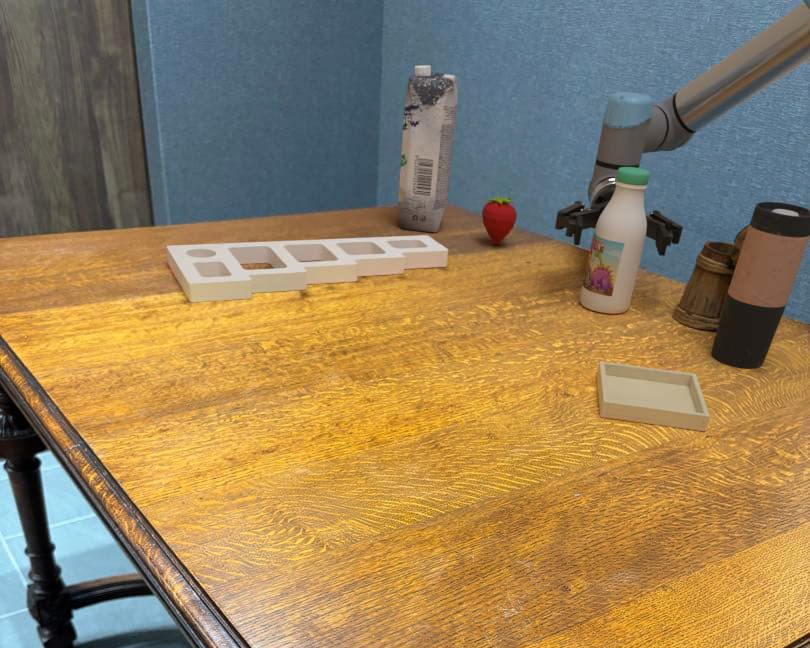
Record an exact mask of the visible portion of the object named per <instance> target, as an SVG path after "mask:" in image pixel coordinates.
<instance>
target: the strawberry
mask: <svg viewBox="0 0 810 648" xmlns="http://www.w3.org/2000/svg"><path fill="white" fill-rule="evenodd" d="M497 189H498V191H499V193H500V194H502V192H501V190H500V187H498V188H497ZM484 200H485V201H488V202H486V203H485V204H484V205H483V208H482V210H481V218H482V223H483V225H484V229H485V230H486V233H487V235H488V236H489V239H490V240H491V243H492V245H495V246H499V245H500V244H501V243H502V241H504V239H506V237H508V236H509V234H510V232H511V231H512V230H513V228H514V226H515V224H516V221H517V217H518V215H517V210H516V208H515V207H514V205H512V204H511V203H514V200H512V197H511V198H510V197H506V198H504V197H502V195H500V196H498V195H496V196H495V197H492V198H485V199H484Z"/></svg>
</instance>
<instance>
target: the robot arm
mask: <svg viewBox="0 0 810 648" xmlns="http://www.w3.org/2000/svg"><path fill="white" fill-rule="evenodd" d="M802 1H803V2H801V3H800V4H799V5H798V6H797V7H795V8H794V9H792V10H791V11H789V12H788V13H786V14H785V15H784V16H782V17H781V18H779V19H778V20H777V21H775V22H774V23H773V24H771V25H769V26H768V27H767V28H765V29H763V30H762V31H761V32H759V33H758V34H757V35H755V36H754V37H752V38H751V39H750V40H748V41H747V42H746V43H744V44H742V45H741V46H739V47H738V48H736V50H734V51H732V53H729V54H728V55H727V56H726V57H724V58H723V59H721V60H720V61H718V62H717V63H716V64H715V65H713V66H711V67H710V68H709V69H707V70H706V71H704V72H703V73H701V74H700V75H698V76H697V77H696V78H694V79H693V80H692V81H690V82H689V83H687V84H686V85H685V86H683V87H681V88H680V89H679V90H678V91H676V92H675V93H673V94H672V95H670V96H669V97H667V98H666V99H665V100H663V101H661V102H660V103H658V104H654V99H653V97H652V96H651V95H649V94H644V93H638V92H630V91H629V92H628V91H616V92H613V93H612V94H611V95H610V96H609V97H608V100H607V105H606V108H605V112H604V115H603V118H602V124H601V125H602V126H601V131H600V137H599V141H598V147H597V152H596V158H595V163H594V167H593V170H592V175H591V176H592V178H591V180H589V184H588V189H587V197H588V201H589V206H590V207H585V206H586V204H585V203H583V202H582V201H580V200H575V201H574V203H573V204H571V205H569V206H567V207H565V208H562V209H560V210H558V211H557V213H556V218H555V225H554V229H555V230H558V231H559V230H564V229H566V230H565V237H568V238H573V245H574V246H580V243H581V239H582V234H583V230H588V229H594V230H595V227H596V224H597V222H598V219H599V217H600V215H601V214H602V212H603V210H604V209H605V208H606V206H607V205H608V203H609V201H610V200H611V198H612V196H613V194H614V192H615V189H616V184H615V182H616V176H617V172H618V169H619V168H621V167H634V168H640V165H641V160H642V156H643V154H649V153H657V152H671V151H675V150H676V149H680V148H682V147H684V146H686V145H688V143H689V142H690V141H691V140H692V139H693V137H694V135H695V133H697V132H698V131H700V130H701V129H703V128H705V127H706V126H707V125H709V124H711V123H713V122H714V121H715V120H717V119H719V118H720V117H723V115H725V114H726V113H728V112H730V111H731V110H733V109H735V108H736V107H737V106H740V105H741V104H742V103H743V102H746V101H747V100H749V99H750V98H751V97H753V96H755V95H756V94H758V93H759V92H761V91H762V90H764V89H766V88H767V87H769V86H770V85H772V84H773V83H775V82H776V81H778V80H780V79H781V78H783V77H784V76H786V75H787V74H789V73H790V72H792V71H794V70H795V69H797V68H798V67H800V66H801V65H803V64H804V63H806V62H807V61H809V60H810V0H802ZM645 215H646V221H647V231H646V238H649V239H651V240H653V241H655V242H654V244H655V247H656V251H657V253H658V256H661V257H665V256H666V251H667V247H671V246H672V244H673V245H679V244H680V240H681V236H682V234H683V229H684V226H682V225H681V224H679V223H677V222H675V221H673V220H672V219H670V218H669V217H667V216H665V215H663V214H662V213H661V211H659V210H656V209H655V210H652V211H651V212H649V214H645Z"/></svg>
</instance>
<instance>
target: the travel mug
mask: <svg viewBox="0 0 810 648" xmlns="http://www.w3.org/2000/svg"><path fill="white" fill-rule="evenodd" d="M749 224H750V225H749ZM749 224H748V225H749V228H748V231H747V234H746V237H745V240H744V243H743V247H742V250H741V253H740V256H739V259H738V262H737V265H736V268H735V271H734V274H733V278H732V281H731V284H730V287H729V290H728V294H727V297H726V300H725V304H724V308H723V311H722V315H721V318H720V322H719V326H718V329H717V331H716V333H715V336H714V340H713V343H712V347H711V351H710V352H711V353H710V354H711V356H712V358H714V359H715V360H716V361H718V362H720V363H722V364H725V365H728V366H731V367H735V368H741V369H756V368H757V369H758V368H760V367H762V366H763V364H764V363H765V361H766V358H767V355H768V353H769V350H770V348H771V346H772V343H773V340H774V338H775V335H776V332H777V330H778V327H779V325H780V323H781V319H782V317H783V315H784V312H785V310H786V307H787V305H788V303H789V302H788V301H789V299H790V296H791V293H792V290H793V287H794V284H795V282H796V279H797V275H798V273H799V270H800V267H801V264H802V262H803V258H804V256H805V253H806V249H807V246H808V243H809V241H810V209H809V208H808V207H804V206H801V205H797V204H793V203H785V202H778V201H761V202H757V203H756V205H755V207H754V210H753V213H752V216H751V219H750V222H749Z"/></svg>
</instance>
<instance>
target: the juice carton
mask: <svg viewBox="0 0 810 648" xmlns="http://www.w3.org/2000/svg"><path fill="white" fill-rule="evenodd" d="M406 87H407V88H406V93H405V99H404V108H403V109H404V111H403V122H402V123H403V125H402V138H401V139H402V140H401V153H400V154H401V155H400V166H399V167H400V170H399V183H398V198H397V199H398V201H397V213H398V221H399V228H400V229H401V230H402V229H403V230H408V231H409V230H410V231H417V232H426V233H437V232H438V231H439V229H440V226H441V223H442V221H443V218H444V216H445V212H446V209H447V204H448V198H449V188H450V178H451V169H452V158H453V149H454V140H455V129H456V128H455V127H456V119H457V108H458V107H457V106H458V77H457V75H455V74H448V73H441V72H432V66H431V65H415V66H414V73H413V75H410V76H409V78H408V82H407V86H406Z"/></svg>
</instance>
